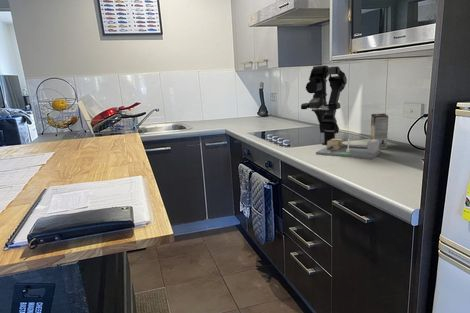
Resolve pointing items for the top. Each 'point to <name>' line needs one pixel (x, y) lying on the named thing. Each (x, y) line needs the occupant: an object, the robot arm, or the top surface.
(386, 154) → the top surface
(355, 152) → the gauge base
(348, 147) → the needle
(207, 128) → the top surface
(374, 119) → the coffee box
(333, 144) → the carriage
